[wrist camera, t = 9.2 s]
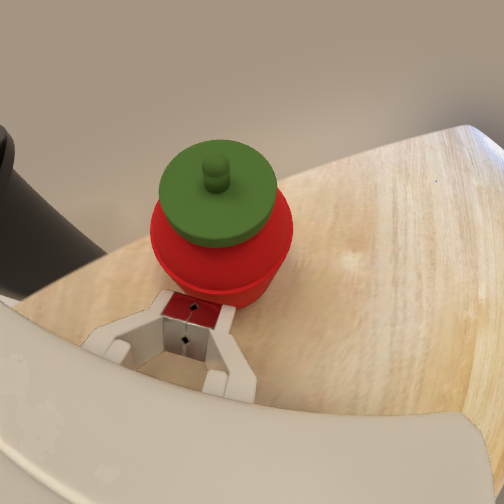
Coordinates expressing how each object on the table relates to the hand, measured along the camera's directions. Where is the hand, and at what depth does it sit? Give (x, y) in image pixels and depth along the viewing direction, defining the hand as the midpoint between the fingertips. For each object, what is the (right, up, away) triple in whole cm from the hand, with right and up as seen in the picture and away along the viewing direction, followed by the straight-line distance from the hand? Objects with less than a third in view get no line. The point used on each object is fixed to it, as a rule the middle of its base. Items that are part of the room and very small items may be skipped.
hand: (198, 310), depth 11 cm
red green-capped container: (+1, +2, +6) cm, 6 cm away
